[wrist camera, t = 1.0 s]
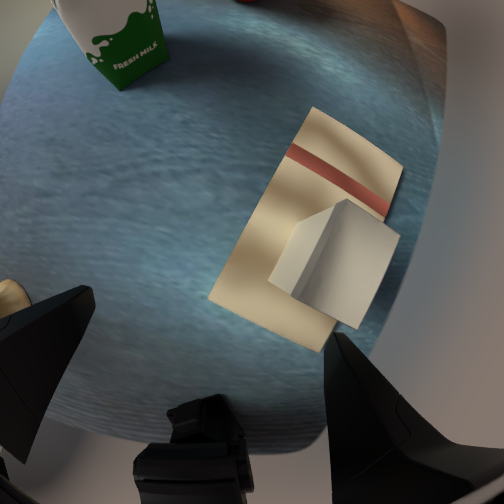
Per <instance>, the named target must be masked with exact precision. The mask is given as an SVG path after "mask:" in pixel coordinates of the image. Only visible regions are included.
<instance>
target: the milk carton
mask: <svg viewBox="0 0 504 504" xmlns="http://www.w3.org/2000/svg"><path fill="white" fill-rule="evenodd" d="M50 1H51V3H52V5H53V7H54V9H55V10H57V12H58V14H59V16H60V17H61V19H62V21H63V22H64V24H65V25H66V27H67V29H68V30H69V32H70V33H71V35H72V36H73V38H74V39H75V41H76V42H77V44H78V45H79V47H80V48H81V50H82V52H83V53H84V55H85V56H86V57H87V58H88V60H89V61H90V62H91V63H92V64H93V65H94V66H95V67H96V68H97V69H98V70H99V71H100V72H101V73H102V74H103V75H104V76H105V77H106V78H107V79H108V80H109V81H110V82H111V83H112V84H113V85H114V86H115V87H116V88H117V89H118V90H119V91H121V90H122V89H123V88H125V87H126V86H128V85H129V84H130V83H132V82H133V81H135V80H136V79H138V78H139V77H141V76H142V75H144V74H145V73H147V72H148V71H150V70H152V69H153V68H155V67H156V66H158V65H160V64H161V63H163V62H165V61H166V60H168V59H169V56H168V52H167V48H166V44H165V39H164V35H163V31H162V26H161V22H160V18H159V14H158V9H157V5H156V1H155V0H50ZM54 5H55V6H54Z"/></svg>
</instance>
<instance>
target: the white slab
mask: <svg viewBox="0 0 504 504" xmlns="http://www.w3.org/2000/svg"><path fill="white" fill-rule="evenodd" d="M400 237H401V235H400V234H398V233H397V232H396V231H394V230H393V229H391V228H390V227H389V226H387V225H386V224H384V223H383V222H381V221H380V220H379V219H377V218H376V217H374V216H373V215H371V214H370V213H368V212H367V211H365V210H364V209H362V208H361V207H359V206H358V205H356V204H355V203H353V202H352V201H350V200H349V199H344V200H342V201H340V202H338V203H336V205H334V206H332V207H330V208H328V209H326V210H324V211H322V212H319V213H317V214H315V215H313V216H311V217H309V218H306V219H304V220H302V221H300V222H298V223H297V225H296V227H295V229H294V231H293V233H292V235H291V237H290V239H289V241H288V243H287V245H286V247H285V249H284V251H283V252H282V254H281V256H280V258H279V260H278V262H277V264H276V266H275V268H274V270H273V271H272V273H271V275H270V277H269V279H268V281H269V282H271V283H272V284H274V285H275V286H277V287H279V288H280V289H282V290H283V291H285V292H287V293H288V294H290V296H291V297H293V298H294V299H296V300H298V301H300V302H302V303H303V304H305V305H307V306H309V307H311V308H313V309H315V310H317V311H319V312H321V313H323V314H325V315H327V316H329V317H331V318H333V319H335V320H337V321H339V322H341V323H343V324H345V325H347V326H349V327H351V328H353V329H355V330H358V329H359V327H360V325H361V323H362V321H363V319H364V317H365V315H366V313H367V311H368V309H369V307H370V305H371V303H372V301H373V299H374V297H375V295H376V293H377V291H378V288H379V286H380V284H381V282H382V280H383V277H384V275H385V273H386V271H387V268H388V266H389V264H390V261H391V259H392V257H393V254H394V252H395V249H396V247H397V244H398V242H399V239H400Z"/></svg>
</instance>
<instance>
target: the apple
mask: <svg viewBox="0 0 504 504" xmlns="http://www.w3.org/2000/svg"><path fill="white" fill-rule="evenodd" d="M237 1H240V2H252V1H255V0H237Z"/></svg>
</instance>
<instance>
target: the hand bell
mask: <svg viewBox="0 0 504 504" xmlns="http://www.w3.org/2000/svg"><path fill="white" fill-rule="evenodd" d="M29 306H31V303H30V300H29V298H28V296H27V294H26V292H25V290H24V289H23V287H22V286H21V285H20V284H19V283H17V282H16V281H14V280H11V279H6V280H4V281H2V282H1V283H0V318H3V317H5V316H8V315H10V314H13V313H15V312H17V311H19V310H22V309H24V308H26V307H29Z"/></svg>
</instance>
